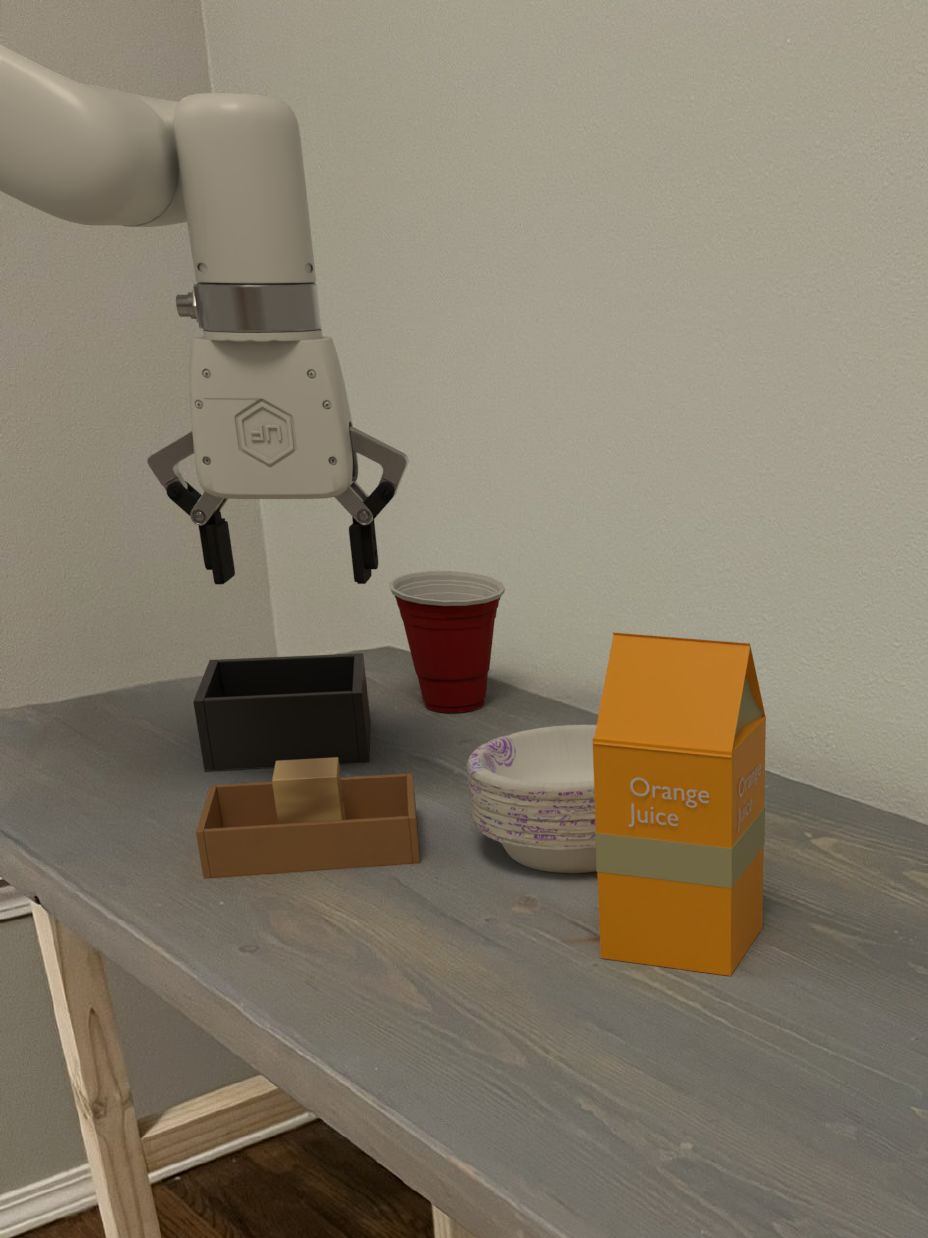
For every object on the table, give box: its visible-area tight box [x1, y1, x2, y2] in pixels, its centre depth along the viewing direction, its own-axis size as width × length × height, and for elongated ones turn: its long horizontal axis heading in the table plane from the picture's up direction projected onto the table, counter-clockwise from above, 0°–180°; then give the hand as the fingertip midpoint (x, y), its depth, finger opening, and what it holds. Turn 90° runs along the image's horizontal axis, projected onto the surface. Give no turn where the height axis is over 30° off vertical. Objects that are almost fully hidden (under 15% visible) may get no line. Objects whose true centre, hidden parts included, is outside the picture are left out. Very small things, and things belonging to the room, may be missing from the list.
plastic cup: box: [388, 570, 506, 714], centre depth 142 cm, size 11×11×12 cm
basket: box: [192, 652, 372, 773], centre depth 131 cm, size 14×14×7 cm
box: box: [195, 772, 421, 880], centre depth 109 cm, size 15×10×4 cm, turn 102°
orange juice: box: [592, 632, 767, 977], centre depth 92 cm, size 8×9×20 cm
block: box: [271, 757, 346, 824], centre depth 109 cm, size 4×4×6 cm
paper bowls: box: [466, 724, 597, 874], centre depth 109 cm, size 15×15×8 cm
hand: (294, 580), depth 104 cm, fingers open, 9 cm apart
